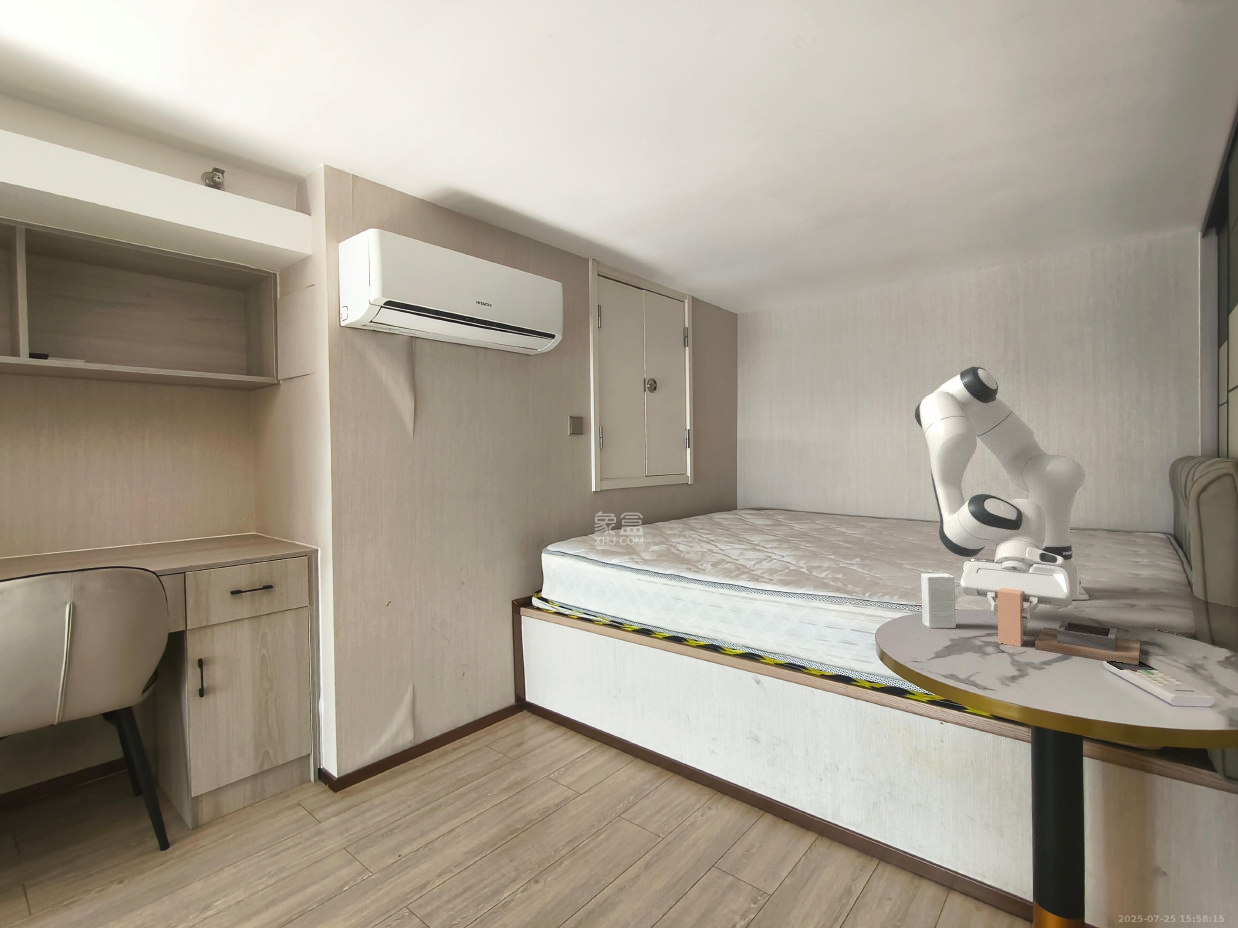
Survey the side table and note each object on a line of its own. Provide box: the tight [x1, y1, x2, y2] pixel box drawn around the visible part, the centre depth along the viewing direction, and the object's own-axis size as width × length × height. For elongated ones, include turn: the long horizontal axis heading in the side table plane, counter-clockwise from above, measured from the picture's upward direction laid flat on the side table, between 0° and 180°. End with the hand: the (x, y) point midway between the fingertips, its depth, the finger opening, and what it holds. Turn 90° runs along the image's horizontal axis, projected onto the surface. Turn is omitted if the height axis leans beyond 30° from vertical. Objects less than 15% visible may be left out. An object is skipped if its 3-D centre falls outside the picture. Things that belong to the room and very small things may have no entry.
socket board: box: [1034, 620, 1141, 666], centre depth 122 cm, size 13×16×4 cm
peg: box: [997, 588, 1025, 648], centre depth 127 cm, size 4×4×11 cm
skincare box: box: [920, 572, 957, 629], centre depth 140 cm, size 6×4×12 cm
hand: (1010, 615), depth 127 cm, fingers closed on peg, 4 cm apart
